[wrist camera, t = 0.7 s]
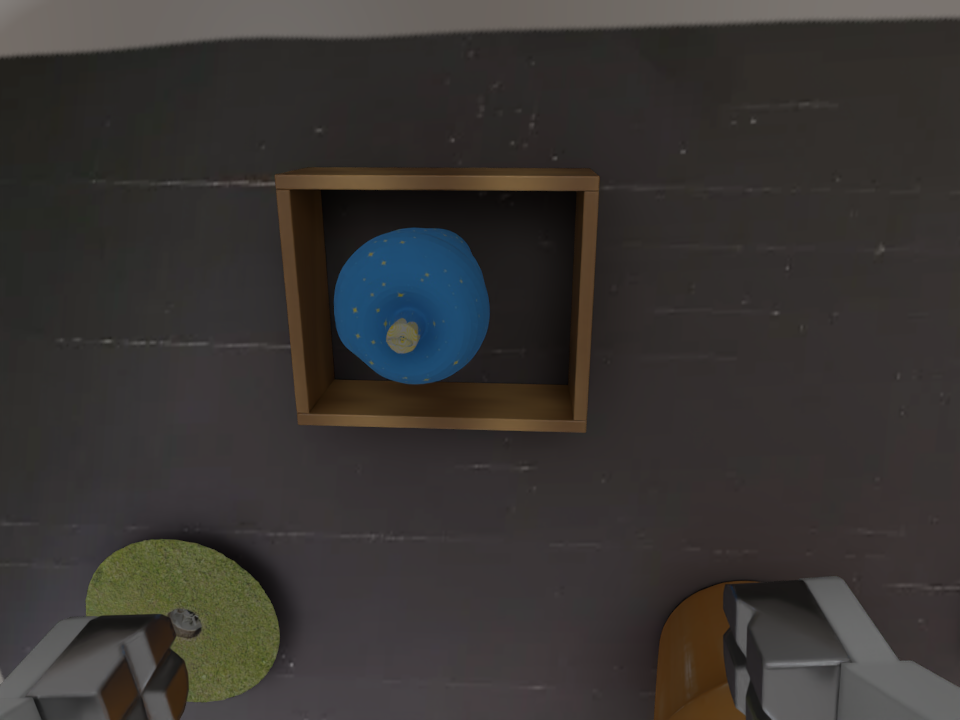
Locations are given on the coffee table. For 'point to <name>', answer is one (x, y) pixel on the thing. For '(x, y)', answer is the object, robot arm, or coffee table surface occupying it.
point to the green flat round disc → (194, 611)
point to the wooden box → (437, 400)
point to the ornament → (412, 304)
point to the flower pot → (695, 661)
